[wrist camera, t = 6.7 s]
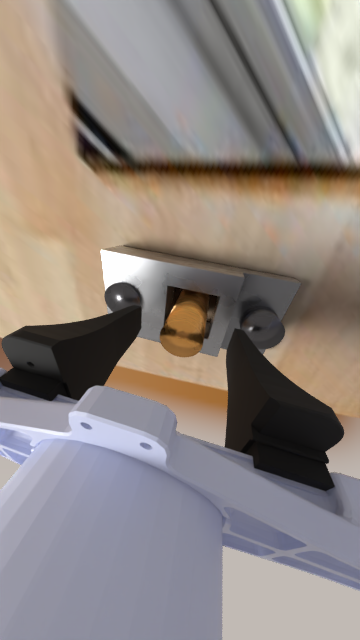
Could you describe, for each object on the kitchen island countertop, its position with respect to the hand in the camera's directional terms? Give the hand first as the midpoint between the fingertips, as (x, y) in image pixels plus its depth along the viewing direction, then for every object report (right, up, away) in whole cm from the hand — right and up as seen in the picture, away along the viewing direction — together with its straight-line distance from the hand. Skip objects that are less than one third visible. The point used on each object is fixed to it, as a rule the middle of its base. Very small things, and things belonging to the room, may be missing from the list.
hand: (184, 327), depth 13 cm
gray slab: (+1, +3, +4) cm, 5 cm away
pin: (+1, +3, +4) cm, 5 cm away
